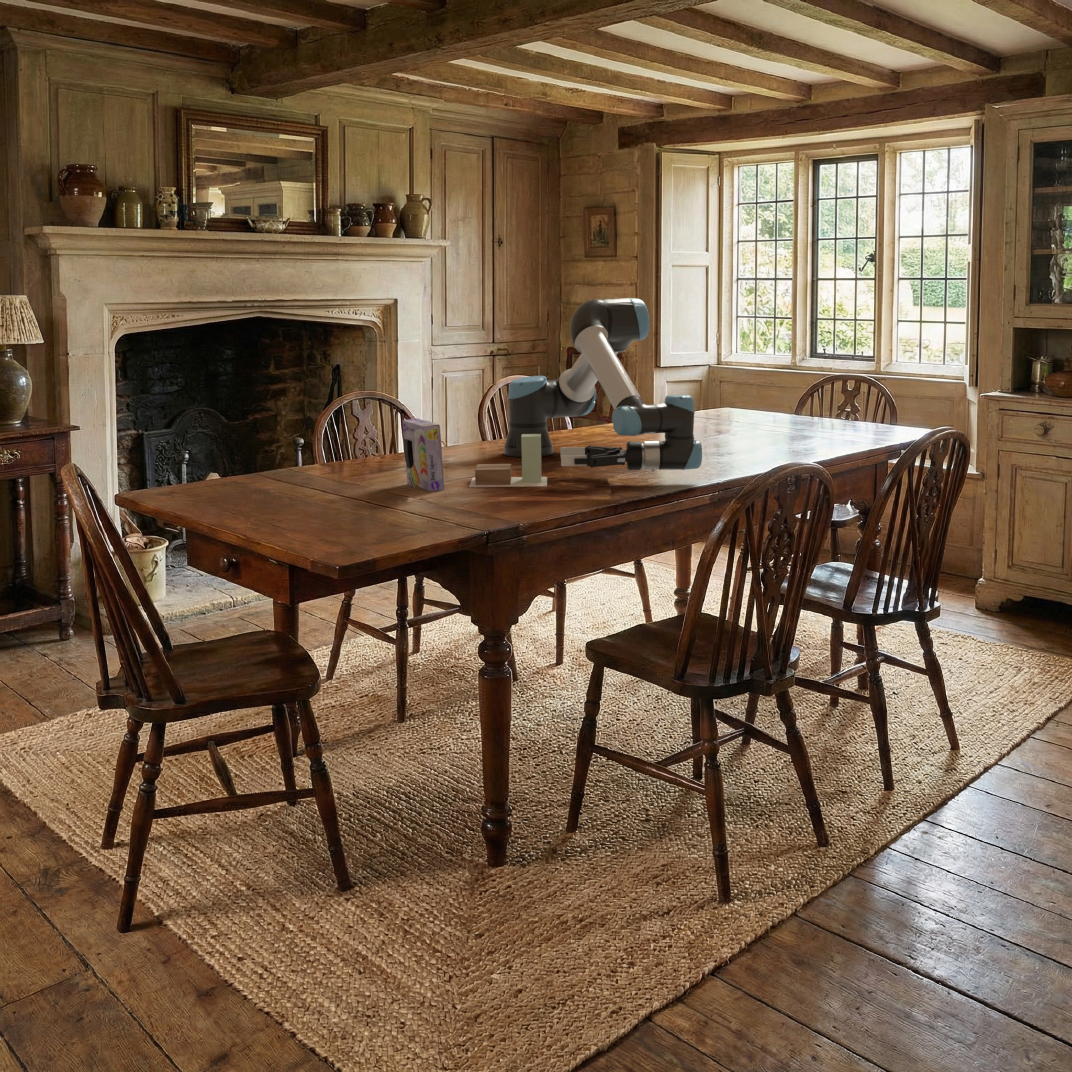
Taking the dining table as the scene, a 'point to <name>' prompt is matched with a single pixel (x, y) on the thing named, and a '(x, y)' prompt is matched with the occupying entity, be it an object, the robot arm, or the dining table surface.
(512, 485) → the build board
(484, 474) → the base block
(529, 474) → the pillar
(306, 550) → the dining table surface
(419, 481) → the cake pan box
